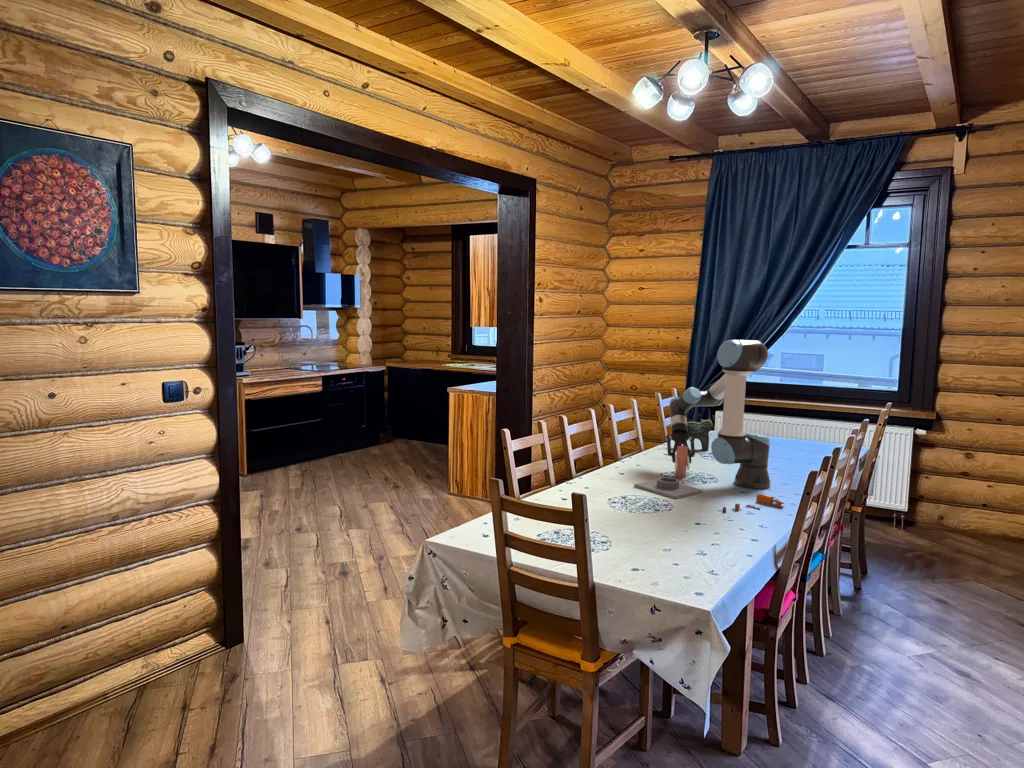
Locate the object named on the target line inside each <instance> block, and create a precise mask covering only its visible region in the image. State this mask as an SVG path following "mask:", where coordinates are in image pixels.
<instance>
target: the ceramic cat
mask: <svg viewBox="0 0 1024 768" xmlns="http://www.w3.org/2000/svg"><path fill="white" fill-rule="evenodd" d="M698 415H699V416H700V417H701V418H700V420H699V421H694V420H692V419H689V418H687V429H688V435H689V437H695V439H697V440H699V441H700V444H701V451H703V452H704V451H705V452H709V447H710V445H709V444H710V432H711V431H712V430H713V422H712V419H711V418H710V417H709V418H708V419H703V417H702V415H701V414H700V413H696V414H695V415H694V417H696V416H698ZM677 446H683V444H677ZM676 450H677V448H676Z"/></svg>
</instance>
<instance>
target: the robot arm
mask: <svg viewBox="0 0 1024 768" xmlns="http://www.w3.org/2000/svg"><path fill="white" fill-rule="evenodd" d="M768 351H769V350H768V348H767V347H766V345H765V344H764V343H763V342H761V340H756V339H728V340H727V339H726V340H725V341H723V343H722V344H721V345H720V346H719V348H718V350H717V355H716V358H717V361H718V363H719V365H720V367H721V368H722V369H721V370H722V372H723V373H724V374H723V375H722V376H721V377H720V379H718V380H717V381H716V382H715V383H714V384H712V385H711V386H710V387H709V388H708V389H707V390H699V389H698V388H697V387H694V386H690V387H688V388H687V389H685V390H684V391H683V393H682V394H681V395H680V396H675V397H674V398H673V397H672V398H671V399H670V401H669V415H670V427H671V428H670V429H671V434H670V435H666V436H665V441H666V446H667V456H669V457H670V456H671V459H672V461H671V462H672V463H673V464H674V469H675V471H676V470H677V467H678V464H677V454H676V453H677V449H676V448H677V444H682V446H687V447H688V452H687V467H686V471H690V468H691V467H690V466H691V465H690V464H692V458H694V457H695V455H696V450H695V439H696V438H695V437H689V435H688V429H687V422H688V420H687V419H688V418H687V413H688V412H689V411H690V410H691V409H692V408H696V407H697V408H698V407H699V408H700V407H717V406H721V405H722V404H723V409H722V423H721V424H722V425H721V429H720V430H719V431H718V432H717V437H716V438H714V439H713V440H712V442H711V448H710V449H711V453H712V457H714V459H715V460H716V461H717V462H718V463H719V464H722V465H733V464H739V467H738V470H737V472H736V474H735V476H734V484H736V485H737V486H740V487H743V488H748V489H755V490H757V489H758V490H763V489H765V490H766V489H769V488H770V487H771V478H770V475H769V471H768V465H769V457H770V456H769V455H770V437H768V435H765V434H760V433H754V432H750V431H749V432H748V431H744V429H743V428H744V415H745V401H746V399H745V398H746V386H747V385H746V383H747V378H748V376H750V375H751V374H752V373H756V372H757V373H758V371H760V369H761V368H762V367H763V366H765V364H766V363H767V360H768V357H769V352H768ZM671 441H673V442H674V445H673V449H672V444H671V443H672V442H671ZM688 441H689V442H690V448H689V445H688Z"/></svg>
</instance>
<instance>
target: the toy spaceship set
mask: <svg viewBox="0 0 1024 768" xmlns="http://www.w3.org/2000/svg"><path fill="white" fill-rule="evenodd" d="M756 502H757V503H759V504H761V505H766V506H771V507H772V506H774V507H776V508H779V509H783V508H784V504H785V502H784V501H782V500H780V499H778V498H775V497H774V496H769V495H766V494H762V493H758V494H757V495H756ZM740 507H741V503H739V502H738V503H735V504H734V508H732V509H731V511H736V512H738V513H739V512H740V511H742V508H740ZM745 507H746V508H747V509H750V508H752V509H755V510H759V511H761V508H760V507H756V505H753V504H746V505H745ZM722 513H723V514H726V513H727V506H724V507H722ZM714 517H717V516H714ZM728 519H730V516H729V517H728ZM723 520H724V521H726V519H723Z"/></svg>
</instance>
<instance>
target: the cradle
mask: <svg viewBox="0 0 1024 768" xmlns="http://www.w3.org/2000/svg"><path fill="white" fill-rule="evenodd" d="M633 487H634V488H637V489H640V490H644V491H647V492H651V493H654V494H657V495H661V496H664V497H667V498H669V499H674V500H679V499H681V498H683V499H684V498H686V497H689V496H694V495H697V494H701V493H703V489H701V488H697V487H694V486H690V485H687V484H682V483H681V482H680V479H677V478H676V477H675V478H674V477H666V476H664V477H663V476H662V477H657V478H655V479H652V480H651V479H650V480H647V481H643V482H637V483H634V485H633Z"/></svg>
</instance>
